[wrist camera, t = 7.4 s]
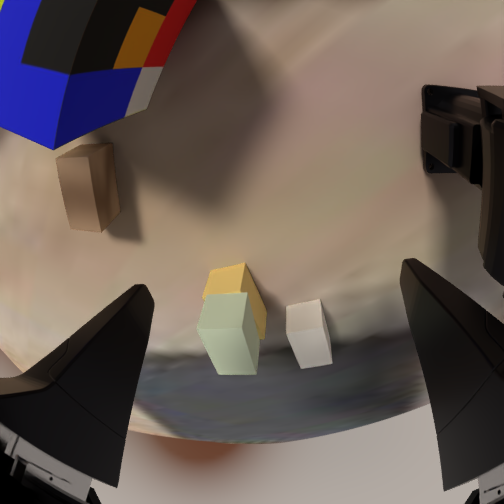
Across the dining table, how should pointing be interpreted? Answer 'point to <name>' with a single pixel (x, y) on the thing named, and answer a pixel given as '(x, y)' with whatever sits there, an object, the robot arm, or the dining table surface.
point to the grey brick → (308, 334)
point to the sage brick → (230, 333)
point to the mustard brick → (238, 290)
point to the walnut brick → (89, 186)
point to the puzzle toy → (81, 62)
